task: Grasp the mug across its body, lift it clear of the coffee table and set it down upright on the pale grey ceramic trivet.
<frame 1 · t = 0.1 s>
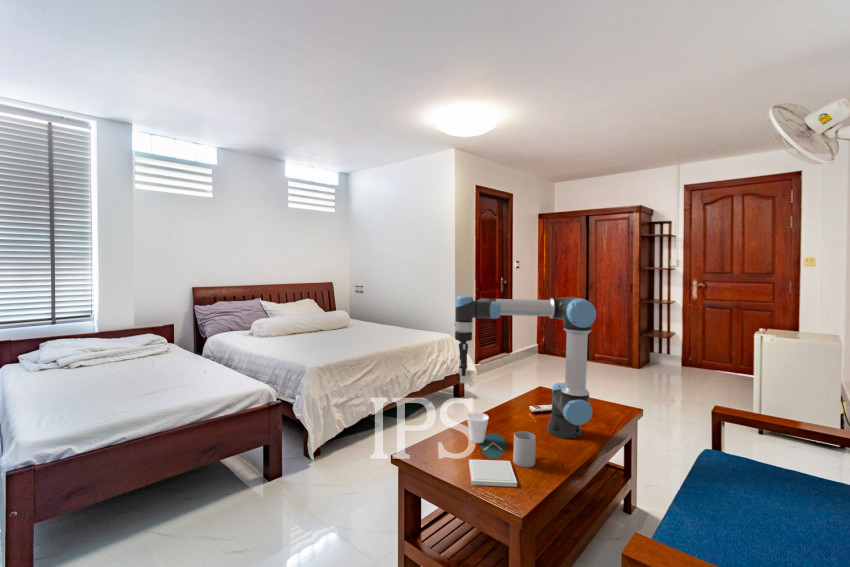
hand: (462, 378, 180), 28 cm above the table, fingers open, 13 cm apart
cup: (477, 441, 182), on the table
mug: (525, 461, 164), on the table
trivet: (491, 474, 153), on the table
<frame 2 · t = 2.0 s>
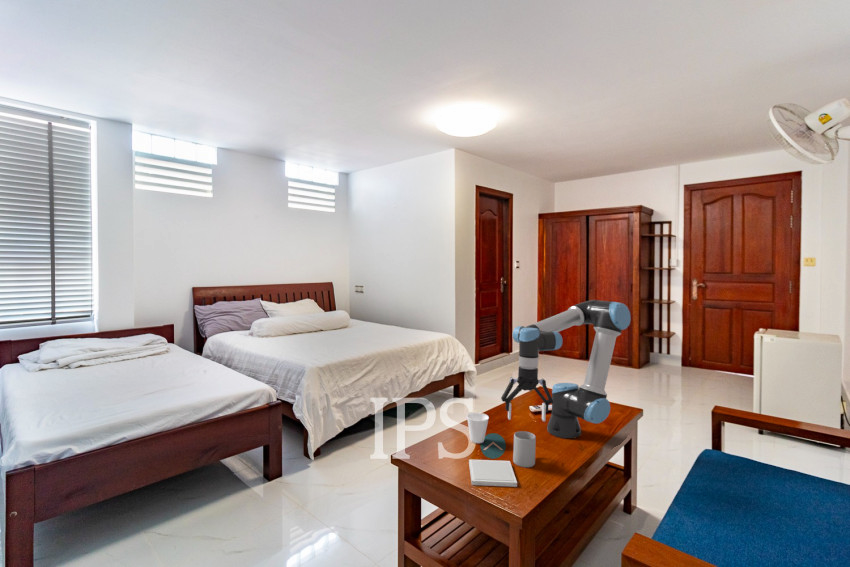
hand: (526, 419, 163), 17 cm above the table, fingers open, 13 cm apart
nothing on the table moved.
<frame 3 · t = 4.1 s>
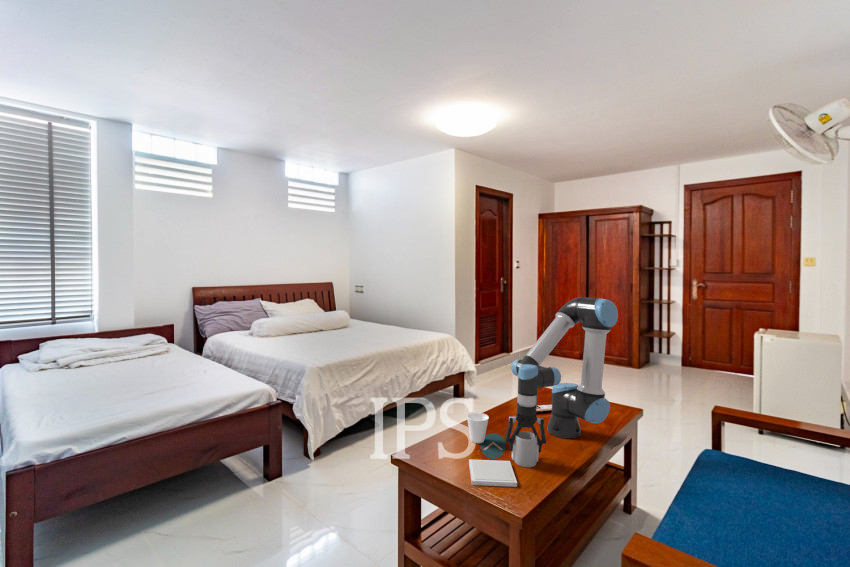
hand: (524, 459, 164), 1 cm above the table, fingers closed on mug, 9 cm apart
mug: (526, 461, 164), on the table, touching gripper
everything else where it was.
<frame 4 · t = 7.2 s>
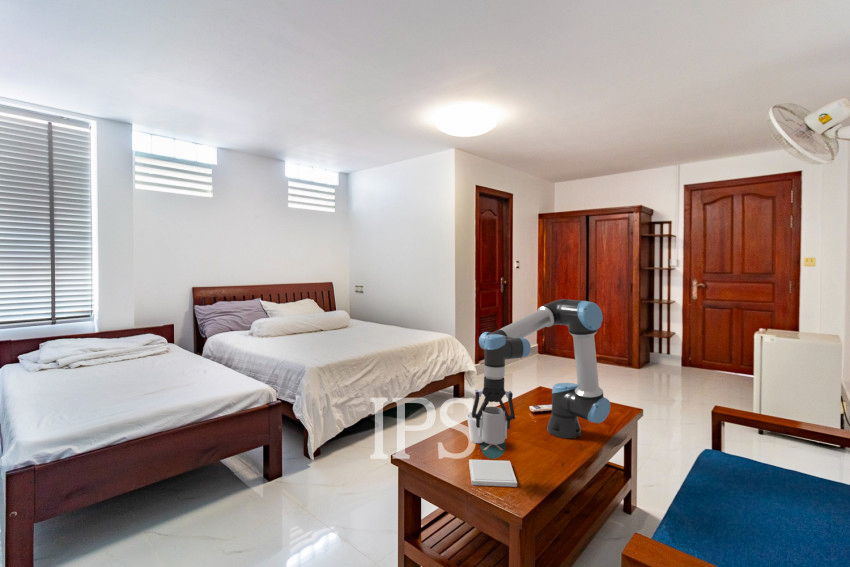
hand: (492, 436, 152), 14 cm above the table, fingers closed on mug, 9 cm apart
mug: (494, 438, 152), point 14 cm above the table, touching gripper
everything else where it was.
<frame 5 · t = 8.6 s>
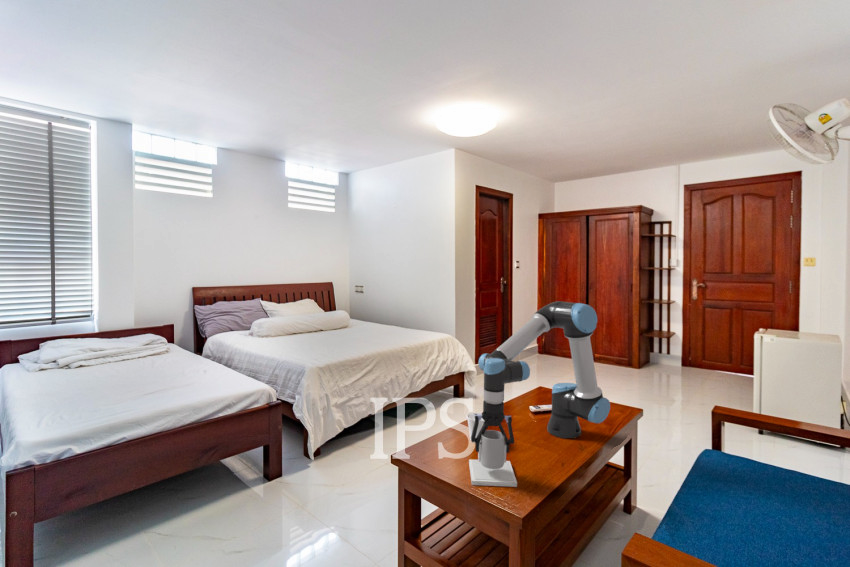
hand: (491, 460, 152), 5 cm above the table, fingers closed on mug, 9 cm apart
mug: (494, 462, 152), point 5 cm above the table, touching gripper
everything else where it was.
when the fingers open (3 cm above the table, at t = 9.9 s): mug drops 1 cm, resting on trivet.
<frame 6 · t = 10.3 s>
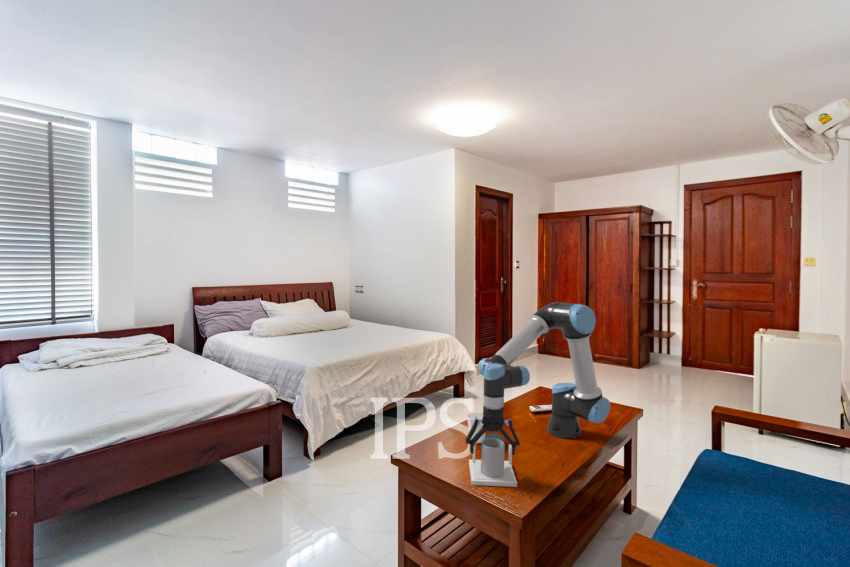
hand: (491, 462, 152), 5 cm above the table, fingers open, 13 cm apart
mug: (494, 470, 153), point 1 cm above the table, touching trivet
everything else where it was.
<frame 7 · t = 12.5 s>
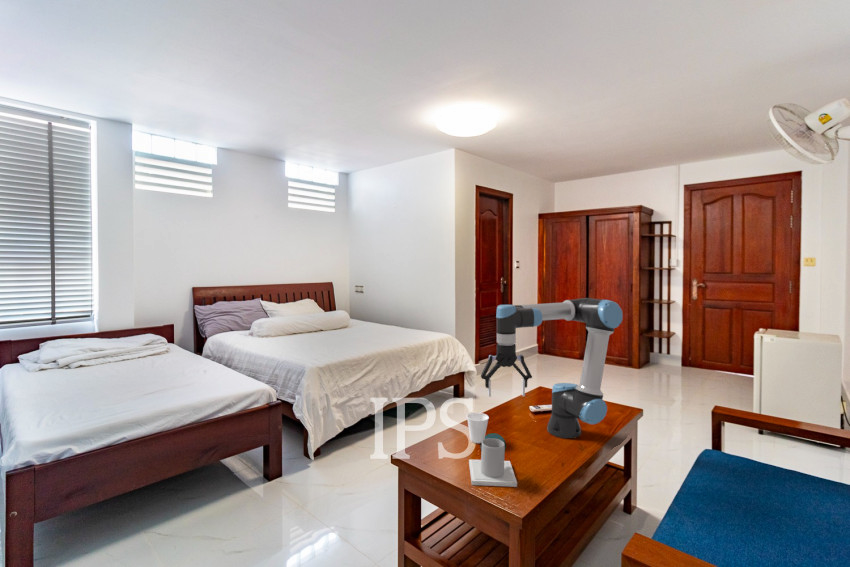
hand: (506, 395, 164), 26 cm above the table, fingers open, 13 cm apart
nothing on the table moved.
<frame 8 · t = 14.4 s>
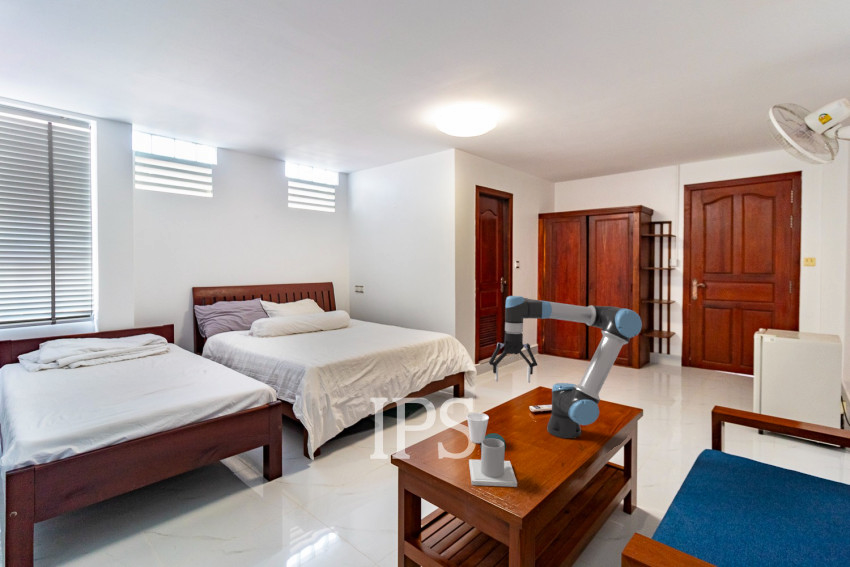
hand: (512, 381, 175), 29 cm above the table, fingers open, 13 cm apart
nothing on the table moved.
at the end: mug inside the target area on the trivet (0.9 cm from its centre), point 1.5 cm above the trivet's base; mug tilted 0°; the gripper is holding nothing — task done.
